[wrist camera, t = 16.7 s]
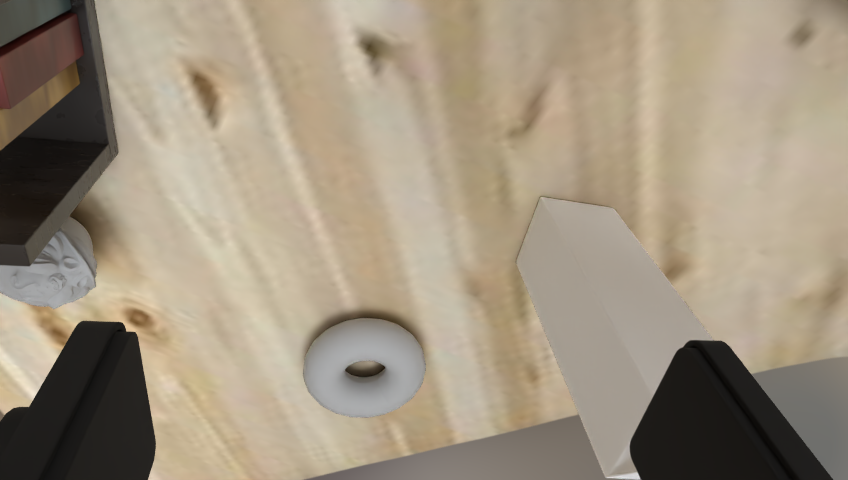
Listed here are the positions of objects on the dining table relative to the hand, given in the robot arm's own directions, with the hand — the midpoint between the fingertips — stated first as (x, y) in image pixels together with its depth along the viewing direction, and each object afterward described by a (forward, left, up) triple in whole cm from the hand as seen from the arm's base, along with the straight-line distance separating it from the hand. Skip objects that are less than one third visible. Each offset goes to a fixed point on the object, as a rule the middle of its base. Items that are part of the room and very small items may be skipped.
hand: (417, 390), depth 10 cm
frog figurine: (+16, -19, -28) cm, 38 cm away
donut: (+27, +2, -28) cm, 39 cm away
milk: (+14, +16, -28) cm, 36 cm away
